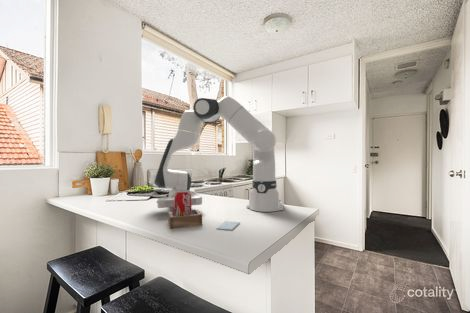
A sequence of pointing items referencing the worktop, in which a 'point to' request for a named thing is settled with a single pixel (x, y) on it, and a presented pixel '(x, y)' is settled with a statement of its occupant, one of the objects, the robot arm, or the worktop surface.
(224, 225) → the slate card
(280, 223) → the worktop surface
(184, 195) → the soda can
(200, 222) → the can rack
